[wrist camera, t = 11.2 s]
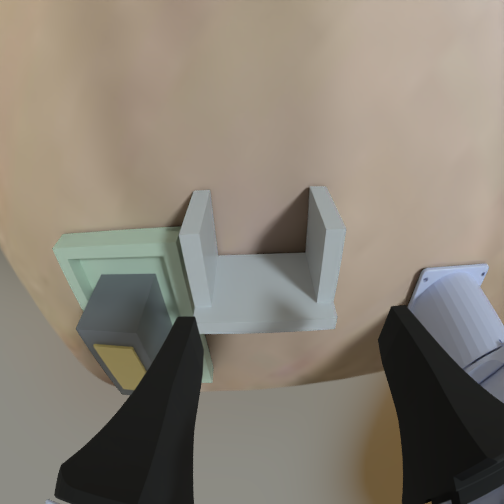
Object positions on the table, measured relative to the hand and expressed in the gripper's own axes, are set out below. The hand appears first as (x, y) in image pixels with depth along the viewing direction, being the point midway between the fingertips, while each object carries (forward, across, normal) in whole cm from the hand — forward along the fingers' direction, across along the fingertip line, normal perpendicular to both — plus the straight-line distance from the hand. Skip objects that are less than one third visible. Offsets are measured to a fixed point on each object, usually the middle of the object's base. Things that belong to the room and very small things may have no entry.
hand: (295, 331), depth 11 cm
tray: (+10, +11, +10) cm, 18 cm away
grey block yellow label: (+9, +11, +10) cm, 17 cm away
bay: (+10, +1, +2) cm, 10 cm away
